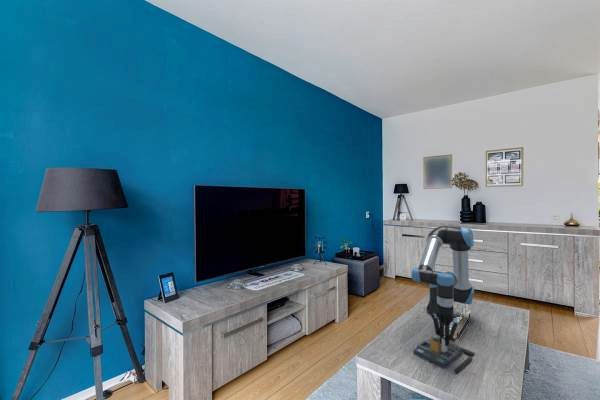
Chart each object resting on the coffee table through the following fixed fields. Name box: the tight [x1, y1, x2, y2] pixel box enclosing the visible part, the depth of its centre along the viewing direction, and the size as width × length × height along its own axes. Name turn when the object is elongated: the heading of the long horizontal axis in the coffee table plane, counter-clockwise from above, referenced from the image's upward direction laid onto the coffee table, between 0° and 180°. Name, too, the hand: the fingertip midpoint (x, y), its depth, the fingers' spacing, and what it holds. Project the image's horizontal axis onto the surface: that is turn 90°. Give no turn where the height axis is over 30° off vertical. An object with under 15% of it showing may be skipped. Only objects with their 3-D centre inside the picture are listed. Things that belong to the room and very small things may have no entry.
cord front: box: [437, 337, 475, 358], centre depth 151 cm, size 3×21×2 cm, turn 37°
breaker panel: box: [413, 336, 463, 370], centre depth 144 cm, size 19×16×9 cm
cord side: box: [453, 356, 473, 374], centre depth 134 cm, size 17×2×2 cm, turn 127°
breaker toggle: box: [430, 336, 442, 354], centre depth 143 cm, size 4×4×7 cm
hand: (444, 350), depth 140 cm, fingers closed
